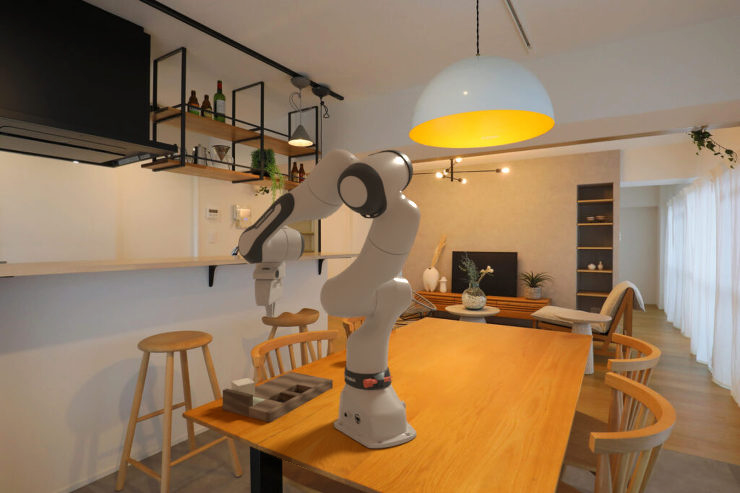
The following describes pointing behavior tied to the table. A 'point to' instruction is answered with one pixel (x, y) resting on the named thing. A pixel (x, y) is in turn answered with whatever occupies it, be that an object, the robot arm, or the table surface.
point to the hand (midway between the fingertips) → (270, 316)
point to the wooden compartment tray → (276, 396)
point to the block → (244, 386)
